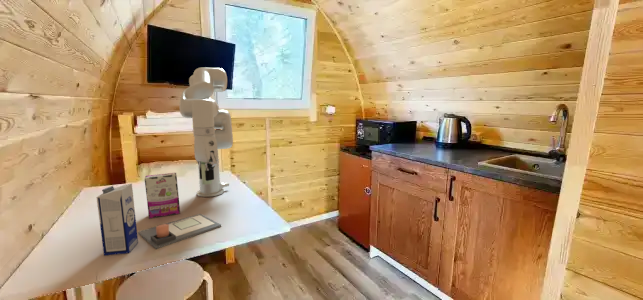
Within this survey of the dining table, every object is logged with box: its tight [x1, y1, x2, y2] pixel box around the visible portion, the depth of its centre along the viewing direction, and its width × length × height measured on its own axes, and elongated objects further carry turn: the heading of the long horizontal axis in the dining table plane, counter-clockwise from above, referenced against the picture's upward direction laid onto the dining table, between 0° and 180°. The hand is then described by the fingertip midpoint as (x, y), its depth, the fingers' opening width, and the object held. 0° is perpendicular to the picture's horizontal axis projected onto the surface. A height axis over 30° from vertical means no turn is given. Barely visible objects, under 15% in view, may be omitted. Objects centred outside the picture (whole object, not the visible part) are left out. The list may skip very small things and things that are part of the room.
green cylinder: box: [201, 160, 212, 184], centre depth 112 cm, size 4×4×10 cm
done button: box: [155, 223, 169, 238], centre depth 94 cm, size 4×4×3 cm
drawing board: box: [137, 213, 222, 250], centre depth 103 cm, size 22×16×2 cm
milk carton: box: [96, 183, 139, 256], centre depth 88 cm, size 7×7×20 cm
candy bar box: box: [144, 172, 181, 219], centre depth 116 cm, size 11×5×16 cm, turn 117°
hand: (207, 178), depth 113 cm, fingers closed on green cylinder, 3 cm apart
